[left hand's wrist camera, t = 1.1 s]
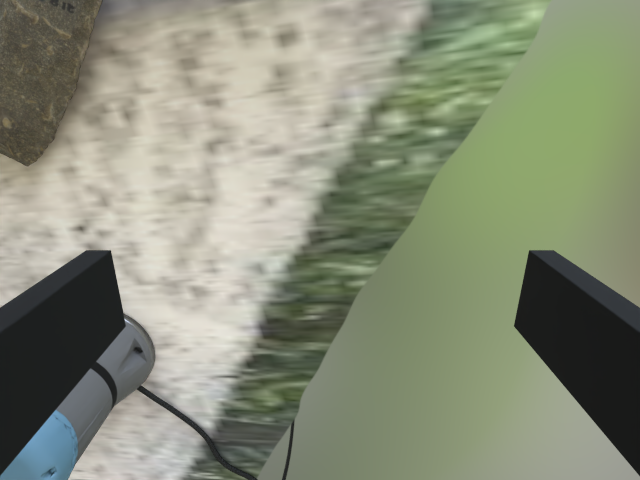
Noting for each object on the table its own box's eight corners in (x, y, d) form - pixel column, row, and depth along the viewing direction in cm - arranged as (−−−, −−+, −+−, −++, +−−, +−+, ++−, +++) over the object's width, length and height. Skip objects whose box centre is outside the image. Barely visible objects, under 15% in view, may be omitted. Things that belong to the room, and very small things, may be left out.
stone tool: (17, -70, 43) (-30, 137, 50) (-3, -81, 40) (-50, 140, 48) (115, -14, 44) (55, 178, 52) (102, -20, 42) (41, 182, 49)
